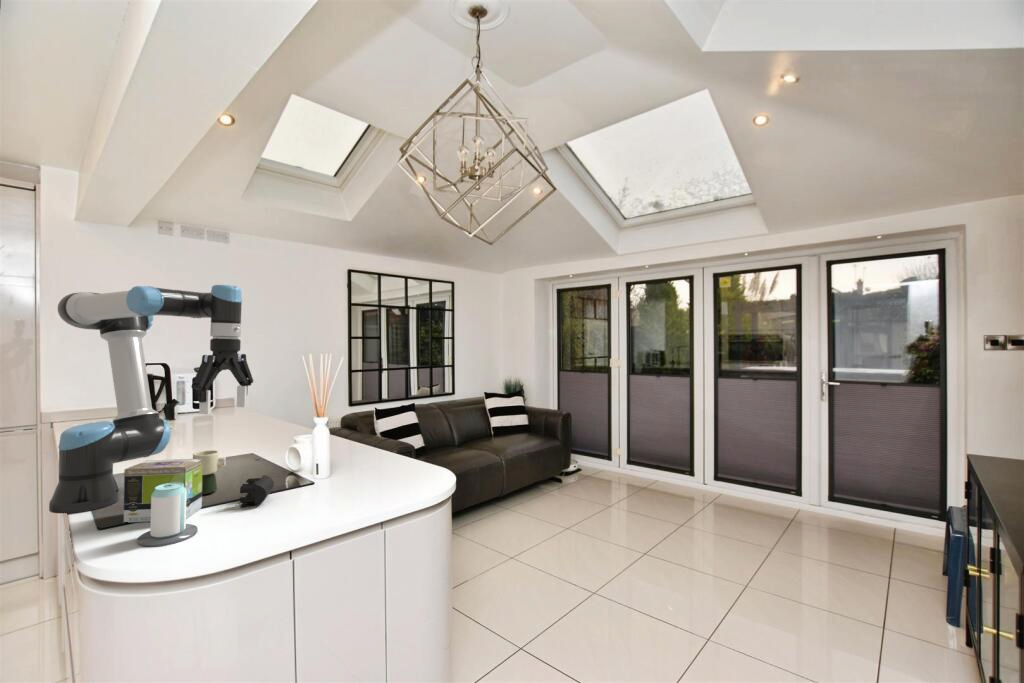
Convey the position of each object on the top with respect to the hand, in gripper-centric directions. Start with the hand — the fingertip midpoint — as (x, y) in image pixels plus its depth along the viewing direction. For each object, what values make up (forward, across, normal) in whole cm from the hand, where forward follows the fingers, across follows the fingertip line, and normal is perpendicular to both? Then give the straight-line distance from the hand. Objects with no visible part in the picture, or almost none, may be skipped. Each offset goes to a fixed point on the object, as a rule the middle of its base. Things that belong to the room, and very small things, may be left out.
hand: (224, 410), depth 132 cm
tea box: (+29, -8, +11) cm, 32 cm away
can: (+28, -19, -2) cm, 34 cm away
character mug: (+29, +10, +15) cm, 34 cm away
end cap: (+29, +7, -6) cm, 30 cm away
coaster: (+29, -19, -2) cm, 34 cm away
